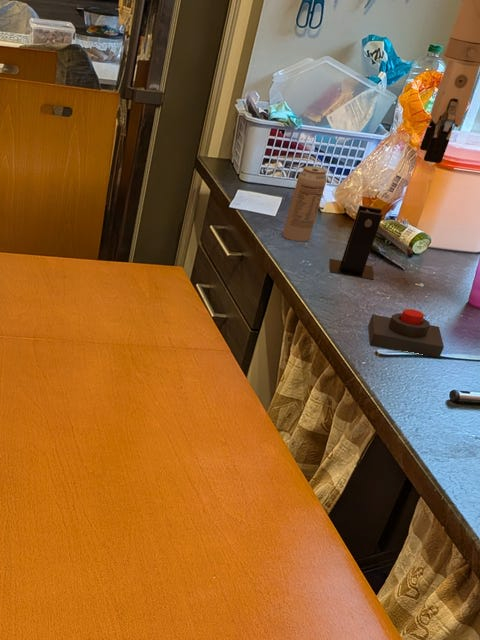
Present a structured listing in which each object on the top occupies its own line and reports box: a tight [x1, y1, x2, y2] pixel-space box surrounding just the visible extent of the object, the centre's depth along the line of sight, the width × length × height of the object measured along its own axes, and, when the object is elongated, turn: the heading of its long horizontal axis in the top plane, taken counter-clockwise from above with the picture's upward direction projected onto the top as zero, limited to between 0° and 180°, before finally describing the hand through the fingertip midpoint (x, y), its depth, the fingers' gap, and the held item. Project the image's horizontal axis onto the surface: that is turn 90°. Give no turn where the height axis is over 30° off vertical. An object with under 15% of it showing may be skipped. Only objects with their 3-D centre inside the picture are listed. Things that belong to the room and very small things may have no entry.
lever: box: [365, 209, 414, 259], centre depth 188 cm, size 13×5×2 cm, turn 74°
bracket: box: [328, 204, 383, 281], centre depth 191 cm, size 9×9×13 cm
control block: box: [367, 312, 445, 359], centre depth 167 cm, size 12×10×4 cm
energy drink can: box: [282, 165, 328, 243], centre depth 204 cm, size 6×6×15 cm
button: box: [400, 308, 425, 325], centre depth 165 cm, size 4×4×2 cm
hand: (429, 156), depth 178 cm, fingers open, 9 cm apart
